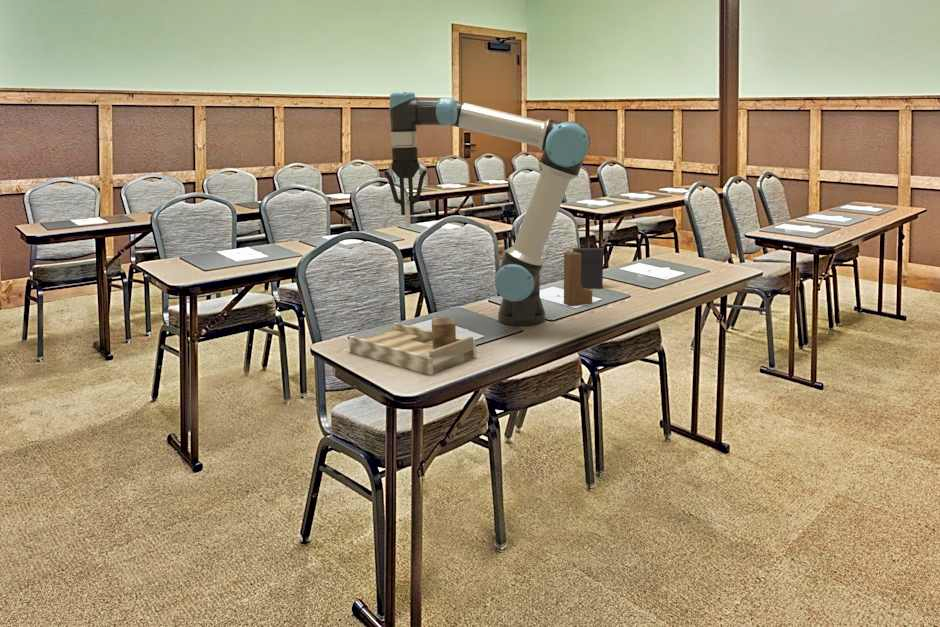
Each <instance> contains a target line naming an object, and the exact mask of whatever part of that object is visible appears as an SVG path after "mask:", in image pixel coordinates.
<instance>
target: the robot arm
mask: <svg viewBox="0 0 940 627" xmlns="http://www.w3.org/2000/svg"><path fill="white" fill-rule="evenodd" d="M388 109H389V115H390V116H389V119H390V138H391V140H390V141H391V146H393V147H392V148H391V160H392V162H391V166H390V168H388V169H387V170H385V171H384V172H383V173H384V176H385V177H386V179H387V181H388V183H389V187H390V191H391V195H392V198H393V201H394V203H396V204H399V205H400V214H401V216H404V220H405V227H406V228H409V227H411V226H412V224H411V216H414V215H415V207H414V205H415V204H417V203H419V202H420V199H421V194H422V188H423V183H424V180H425V176H426V175H427V173H428V171H427V169H424V168H423V167H421V166H420V163H419V156H418V155H419V154H418V148H417V145H418V136H417V126H452V127H455V128H460V129H465V130H469V131H473V132H476V133H477V132H478V133H479V134H480V133H482V134H485V135H489V136H493V137H496V138H497V137H498V138H501V139H506V140H510V141H514V142H518V143H522V144H526V145H531V146H534V147H538V148H539V150H540V151H541V152H542V154H541V157H540V160H539V161H538V162H539V164H540V167H541V172H540V175H539V178H538V180H537V183H536V185H535V188H534V191H533V193H532V196H531V198H530V202H529V203H528V205H527V206H528V207H527V209H526V211H525V214H524V217H523V219H522V223H521V226H520V228H519V230H518V233H517V236H516V238H515V241H514V244H513V246H511V247H509V248H506V249H505V250H503V252H502V256H501V257H502V258H501V259H502V261H501V263H500V265H499V266H500V267H499V269H498V270H496V273H495V275H494V287H495V290H496V291H497V294H498V295H499V296H500V297H501V298H502V300H501V302H500V306H499V309H498V312H497V321H498V322H500V324H501V323H502V324H504V325H509V326H517V327H518V326H519V327H523V326H524V327H525V326H526V327H527V326H535V325H539V324H542V323H543V322H545V321H546V311H545V309H544V306H543V303H542V300H541V296H540V295H541V294H540V289H541V287H540V285H541V284H540V276H541V275H540V272H541V269H542V267H543V265H544V262H543V259H542V257H541V256H542V253H543V250H544V249H545V245H546V243H547V241H548V237H549V236H550V233H551V231H552V228H553V225H554V222H555V220H556V218H557V215H558V212H559V210H560V207H561V204H562V202H563V200H564V197H565V194H566V192H567V189H568V186H569V184H570V182H571V180H572V179H575V178H577V177H578V175H579V173H580V172H581V168H582V166H583V163H584V161H585V158H586V156H587V155H588V152H589V149H590V145H591V137H590V133H589V131H588V130H587V128H586V127H585V126H584V125H583V124H581V123H579V122H576V121H562V120H556V119H555V120H554V119H551V118H548V119H547V120H545V121H543V120H541V119H540V120H539V119H536V118H535V119H534V118H531V117H527V116H524V115H523V116H522V115H518V114H515V113H510V112H506V111H502V110H497V109H493V108H489V107H485V106H480V105H477V104H472V103H468V102H463V101H458V100H455V98H451V97H437V98H436V97H435V98H434V97H431V98H417V96H416V94H415V92H414V91H398V92H397V91H395V92H392V93H390V95H389V108H388ZM417 172H418V174H419V178H418V183H417V189H416V193H415V194H416V195H415V198H414V186H413V185H414V184H413V178H415V175H416V174H417ZM393 173H394V174H395V176H396V177H397V178H398V179H399V195H400V196H399V197H398V193H397V189H396V185H395V182H394V180H393ZM405 179H407V181H408V182H407V184H408V201H409V202H408V203H406V195H405Z"/></svg>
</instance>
